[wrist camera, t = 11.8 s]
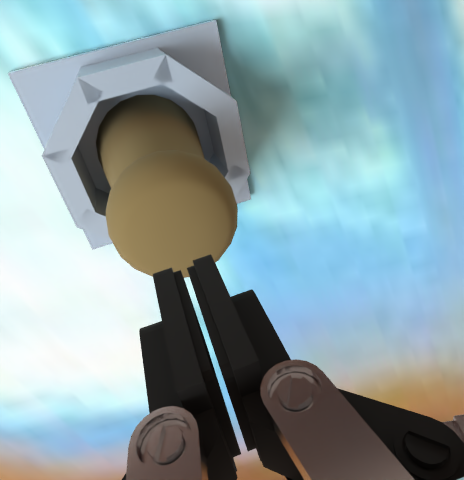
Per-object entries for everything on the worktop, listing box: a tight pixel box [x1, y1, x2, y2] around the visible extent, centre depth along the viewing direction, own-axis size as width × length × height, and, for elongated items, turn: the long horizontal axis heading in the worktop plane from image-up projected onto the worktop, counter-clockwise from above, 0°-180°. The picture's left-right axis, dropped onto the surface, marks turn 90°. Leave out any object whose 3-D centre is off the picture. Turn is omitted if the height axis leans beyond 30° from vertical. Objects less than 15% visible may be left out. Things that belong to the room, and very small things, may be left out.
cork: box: [96, 95, 237, 278], centre depth 19 cm, size 6×6×11 cm
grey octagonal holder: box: [8, 20, 251, 249], centre depth 23 cm, size 11×11×4 cm
